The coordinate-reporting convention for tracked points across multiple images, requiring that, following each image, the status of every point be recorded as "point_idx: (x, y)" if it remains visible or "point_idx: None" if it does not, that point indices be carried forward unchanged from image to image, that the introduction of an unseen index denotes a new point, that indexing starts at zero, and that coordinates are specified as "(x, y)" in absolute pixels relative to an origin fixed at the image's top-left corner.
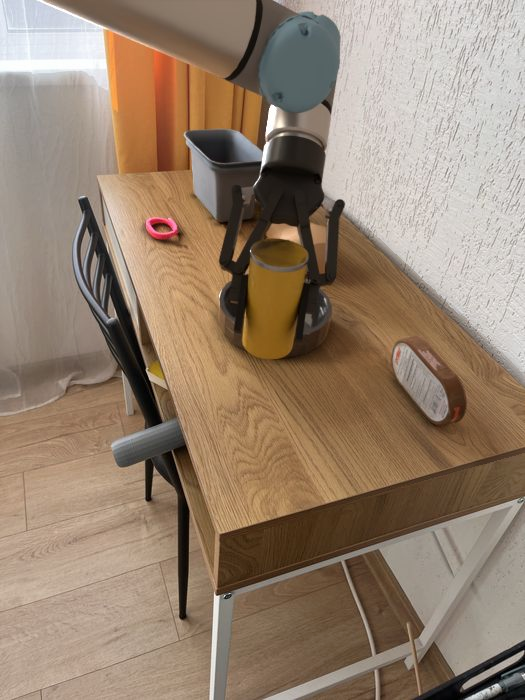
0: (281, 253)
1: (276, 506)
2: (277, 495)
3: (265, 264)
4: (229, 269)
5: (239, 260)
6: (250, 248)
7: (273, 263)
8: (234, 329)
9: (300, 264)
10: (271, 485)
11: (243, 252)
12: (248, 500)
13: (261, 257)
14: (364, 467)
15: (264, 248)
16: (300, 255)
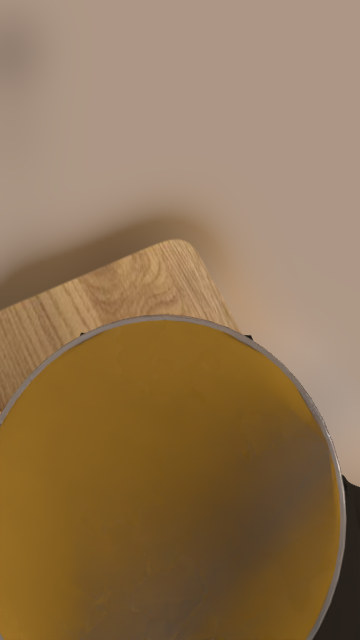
0: (150, 479)
1: (132, 263)
2: (131, 277)
3: (229, 329)
4: (357, 489)
5: (346, 522)
6: (334, 606)
7: (188, 345)
8: (249, 336)
9: (33, 374)
10: (139, 288)
11: (354, 572)
12: (163, 266)
13: (262, 392)
14: (19, 332)
15: (263, 516)
16: (25, 490)
